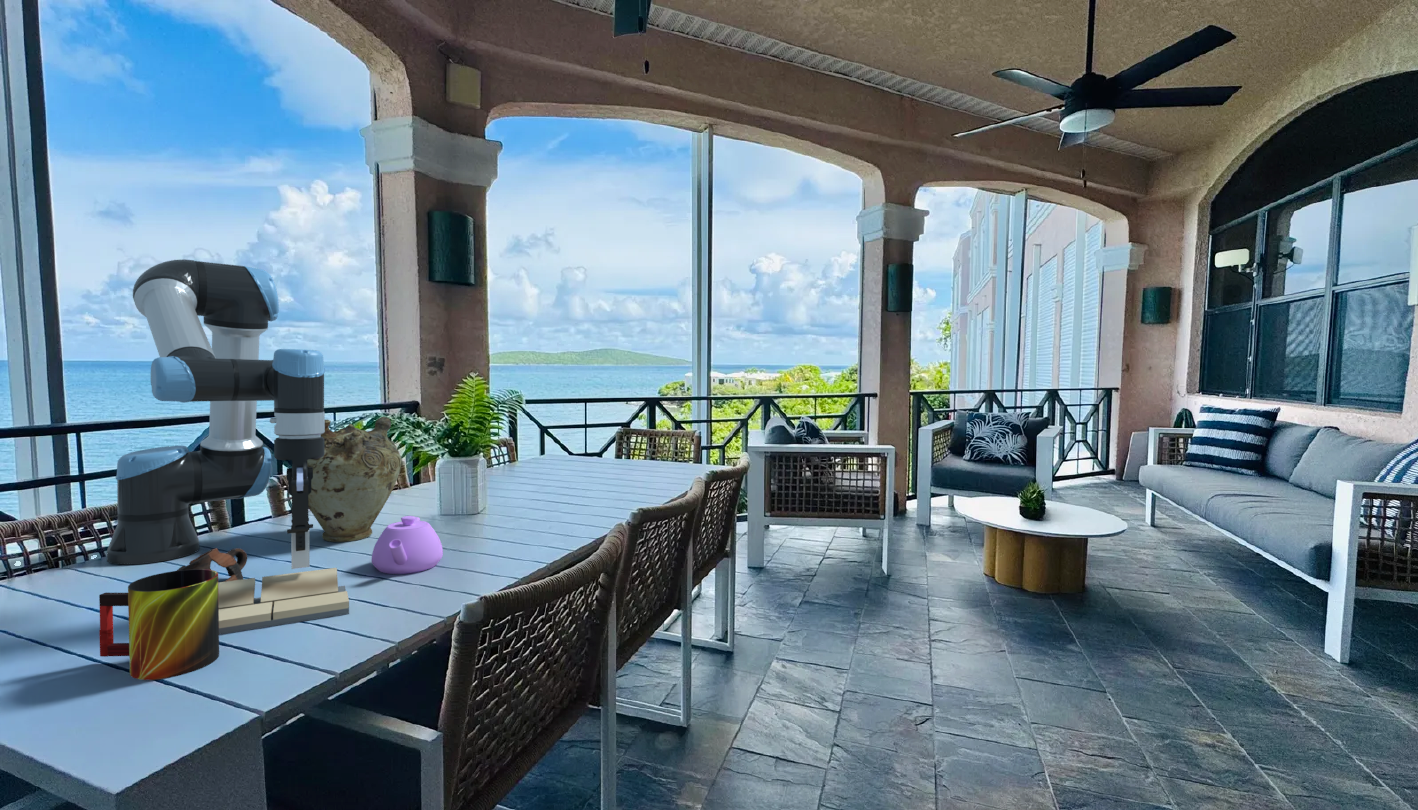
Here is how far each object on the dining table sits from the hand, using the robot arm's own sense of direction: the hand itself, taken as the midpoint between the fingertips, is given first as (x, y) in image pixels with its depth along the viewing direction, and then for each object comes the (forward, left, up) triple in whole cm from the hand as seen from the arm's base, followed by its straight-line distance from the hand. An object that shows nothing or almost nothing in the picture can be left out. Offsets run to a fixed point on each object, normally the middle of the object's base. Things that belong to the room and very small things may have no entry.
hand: (300, 566), depth 113 cm
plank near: (+1, -12, -4) cm, 13 cm away
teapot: (-13, +19, -7) cm, 24 cm away
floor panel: (+4, -6, -6) cm, 10 cm away
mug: (+20, -17, -7) cm, 27 cm away
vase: (-45, +10, -6) cm, 46 cm away
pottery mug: (-17, -13, -7) cm, 22 cm away
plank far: (+1, 0, -4) cm, 4 cm away
